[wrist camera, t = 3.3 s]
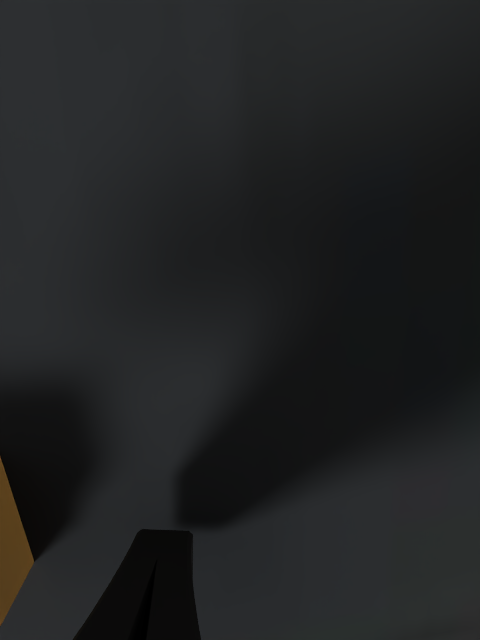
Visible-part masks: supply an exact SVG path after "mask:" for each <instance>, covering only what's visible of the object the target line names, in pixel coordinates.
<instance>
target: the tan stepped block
mask: <svg viewBox="0 0 480 640" xmlns="http://www.w3.org/2000/svg"><path fill="white" fill-rule="evenodd" d="M33 563H34V559H33V556H32V553H31V550H30V547H29V544H28V541H27V538H26V534H25V531H24V528H23V525H22V522H21V519H20V516H19V513H18V510H17V507H16V503H15V500H14V497H13V494H12V491H11V488H10V485H9V482H8V479H7V476H6V472H5V469H4V466H3V463H2V460H1V457H0V626H1V624H2V622H3V620H4V618H5V617H6V615H7V613H8V611H9V609H10V607H11V605H12V603H13V601H14V599H15V598H16V596H17V594H18V592H19V590H20V588H21V586H22V584H23V582H24V580H25V579H26V577H27V575H28V573H29V571H30V569H31V567H32V565H33Z"/></svg>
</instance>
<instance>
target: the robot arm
mask: <svg viewBox="0 0 480 640" xmlns="http://www.w3.org/2000/svg"><path fill="white" fill-rule="evenodd" d="M192 577H193V534H192V533H190V532H189V531H176V530H148V529H142V530H140V531H139V532H138V533H137V535H136V537H135V539H134V541H133V543H132V545H131V547H130V549H129V551H128V552H127V554H126V556H125V558H124V560H123V562H122V563H121V565H120V567H119V569H118V570H117V572H116V574H115V575H114V577H113V579H112V580H111V582H110V584H109V585H108V587H107V588H106V590H105V592H104V593H103V595H102V596H101V598H100V600H99V601H98V603H97V604H96V606H95V607H94V609H93V611H92V612H91V614H90V615H89V617H88V618H87V620H86V621H85V623H84V624H83V626H82V627H81V628H80V630H79V631H78V633H77V634H76V636H75V637H74V638H73V640H201V637H200V631H199V625H198V619H197V612H196V605H195V599H194V590H193V580H192Z"/></svg>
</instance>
